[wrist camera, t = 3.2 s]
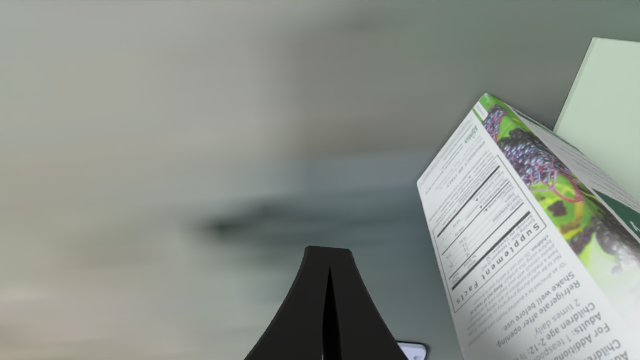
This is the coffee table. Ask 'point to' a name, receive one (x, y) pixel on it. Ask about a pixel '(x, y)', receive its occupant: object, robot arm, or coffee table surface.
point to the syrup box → (532, 243)
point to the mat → (607, 111)
